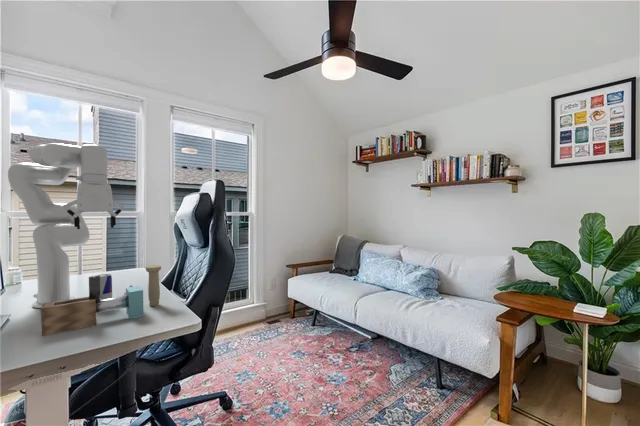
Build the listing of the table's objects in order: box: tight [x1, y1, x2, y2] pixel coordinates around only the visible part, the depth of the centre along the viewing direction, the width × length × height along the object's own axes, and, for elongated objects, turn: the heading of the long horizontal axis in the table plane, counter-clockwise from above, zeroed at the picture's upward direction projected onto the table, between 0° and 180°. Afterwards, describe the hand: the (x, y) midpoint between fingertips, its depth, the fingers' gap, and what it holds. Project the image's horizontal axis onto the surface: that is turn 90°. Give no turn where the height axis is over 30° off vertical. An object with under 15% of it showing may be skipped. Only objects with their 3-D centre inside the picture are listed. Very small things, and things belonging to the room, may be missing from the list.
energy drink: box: [96, 273, 113, 300], centre depth 114 cm, size 5×5×12 cm
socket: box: [125, 285, 145, 320], centre depth 105 cm, size 4×8×9 cm, turn 40°
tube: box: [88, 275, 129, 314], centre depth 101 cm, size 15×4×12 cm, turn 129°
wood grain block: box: [40, 296, 97, 337], centre depth 94 cm, size 13×6×8 cm, turn 129°
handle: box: [145, 264, 162, 307], centre depth 115 cm, size 5×6×15 cm
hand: (95, 228), depth 107 cm, fingers open, 9 cm apart
